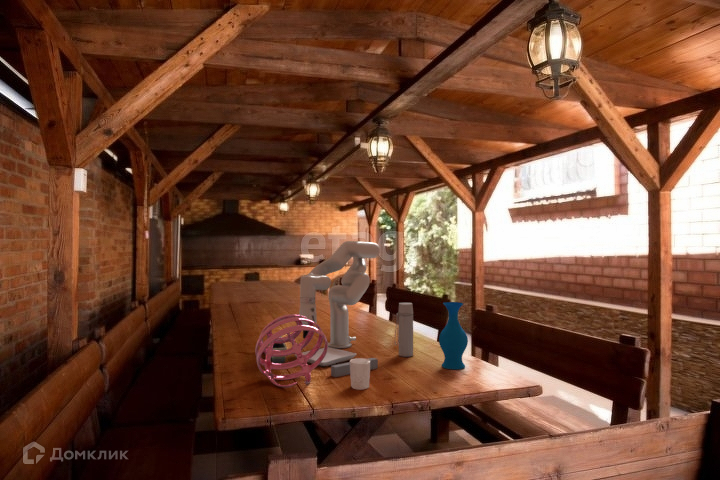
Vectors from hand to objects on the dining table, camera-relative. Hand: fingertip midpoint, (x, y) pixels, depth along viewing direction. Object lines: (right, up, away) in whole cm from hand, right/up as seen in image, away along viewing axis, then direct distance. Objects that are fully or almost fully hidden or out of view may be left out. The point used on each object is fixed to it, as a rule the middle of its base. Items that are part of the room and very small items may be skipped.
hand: (306, 338), depth 230 cm
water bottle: (+47, -8, -4) cm, 48 cm away
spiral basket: (-1, -8, -45) cm, 45 cm away
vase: (+67, -8, -24) cm, 72 cm away
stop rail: (+24, -8, -31) cm, 40 cm away
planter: (-14, -8, -5) cm, 17 cm away
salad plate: (+10, -8, -12) cm, 18 cm away
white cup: (+26, -8, -51) cm, 58 cm away
